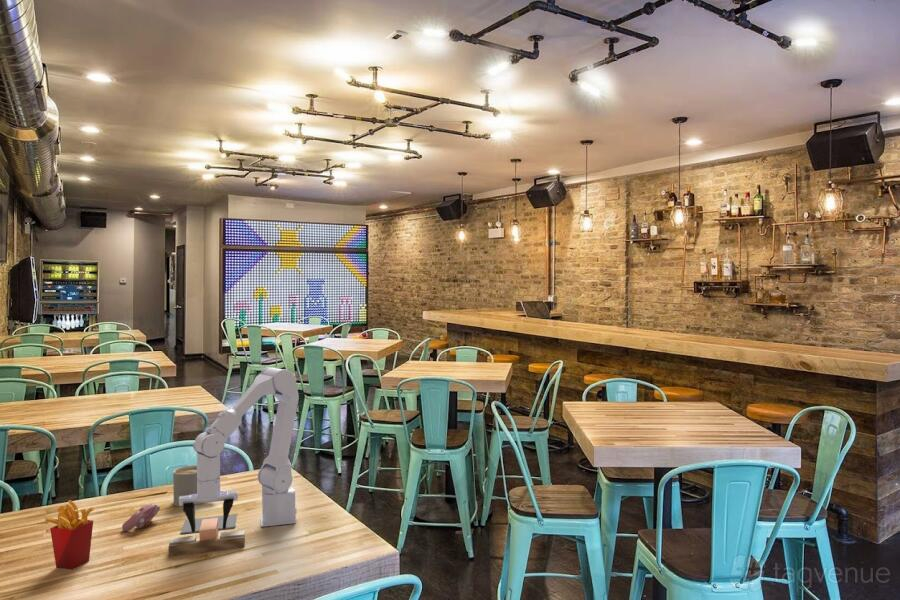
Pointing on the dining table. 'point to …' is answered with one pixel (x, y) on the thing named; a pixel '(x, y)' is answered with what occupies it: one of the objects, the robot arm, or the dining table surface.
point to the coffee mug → (184, 482)
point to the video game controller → (141, 517)
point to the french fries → (71, 536)
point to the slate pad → (229, 524)
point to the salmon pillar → (209, 529)
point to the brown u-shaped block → (206, 543)
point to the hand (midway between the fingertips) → (209, 529)
